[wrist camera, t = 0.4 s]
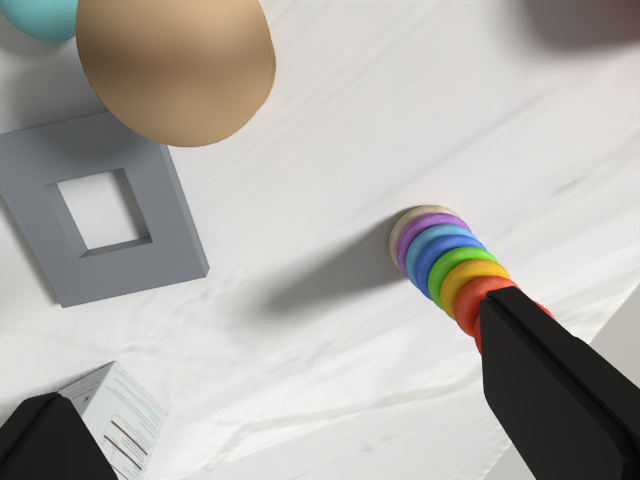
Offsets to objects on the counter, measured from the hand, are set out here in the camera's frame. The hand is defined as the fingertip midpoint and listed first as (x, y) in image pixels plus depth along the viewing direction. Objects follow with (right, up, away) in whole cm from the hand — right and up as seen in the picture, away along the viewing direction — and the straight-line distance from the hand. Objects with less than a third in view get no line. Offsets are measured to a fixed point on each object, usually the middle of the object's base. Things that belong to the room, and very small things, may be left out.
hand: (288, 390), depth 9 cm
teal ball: (-19, +21, +21) cm, 35 cm away
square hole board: (-19, +6, +27) cm, 33 cm away
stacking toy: (+11, +4, +31) cm, 33 cm away
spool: (-8, +18, +23) cm, 30 cm away
